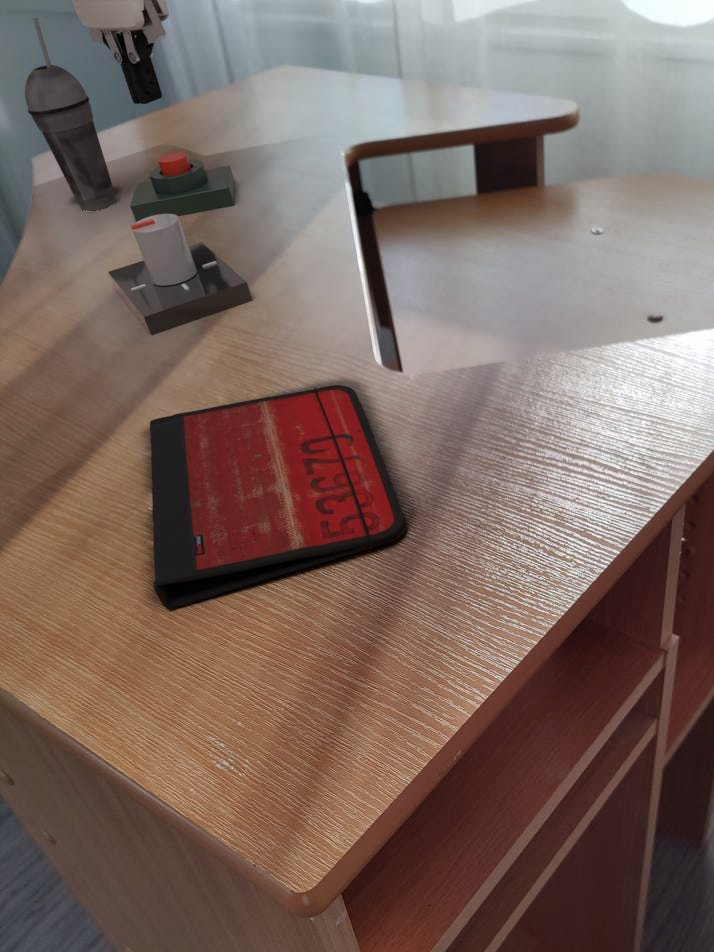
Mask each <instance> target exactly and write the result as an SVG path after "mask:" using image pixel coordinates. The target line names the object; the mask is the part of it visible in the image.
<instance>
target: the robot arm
mask: <svg viewBox="0 0 714 952" xmlns="http://www.w3.org/2000/svg"><path fill="white" fill-rule="evenodd" d="M71 3H72V6H73V8H74V11H75V13H76V15H77V18H78V20H79V22H80V23H81V24H82V26H84V27H85V28H87V29H88V33H89V37H90V38H91V40H93V41H95V42H97V43H100V44H103V45H105V46H106V47H107V48H108V49H109V50H110V52H111V54H112V57H113V60H114V61H115V62H116V63H117V64H120V67H121V70H122V72H123V73H122V74H123V76H124V79H125V82H126V86H127V88H128V91H129V94H130V98H131V100H132V103H133V104H135V105H140V104H141V105H147V104H150V103H152V102H154V101H157V100H160V99H162V97H163V92H162V90H161V86H160V83H159V79H158V78H157V77H158V76H157V74H156V70H155V67H154V64H153V60H152V58H154V56H155V55H154V54H155V52H154V45H155V42H158V41H160V40H162V39H164V38H166V37H167V36H166V35H167V33H166V30H165V28H164V26H163V22H165V21H166V20H168V18H169V15H170V11H169V8H168V7H169V5H168V3H167V0H71Z"/></svg>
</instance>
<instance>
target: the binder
mask: <svg viewBox="0 0 714 952" xmlns="http://www.w3.org/2000/svg"><path fill="white" fill-rule="evenodd" d="M366 415H367V414H366V413H365V410H364V407H363V405H362V403H361V401H360V399H359V396H358V394H357V392H356V391H355V389H353V388H352V387H350V386H348V385H341V384H334V385H326V386H322V387H317V388H316V387H314V388H313V389H307V390H302V391H297V392H290V393H285V394H279V395H273V396H267V397H265V396H264V397H261V398H255V399H250V400H245V401H244V400H243V401H238V402H234V403H228V404H224V405H217V406H212V407H207V408H203V409H196V410H192V411H186V412H185V411H184V412H179V413H174V414H172V415H168V416H162V417H158V418H155V419H152V420H150V422H149V434H150V458H151V459H150V461H151V462H150V463H151V500H152V523H153V536H152V537H153V567H154V570H153V571H154V581H153V591H154V592H155V594H156V596H157V598H158V600H159V601H160V603H161V604H162V606H163V607H164V608H166V609H167V610H174V609H177V608H179V607H185V606H186V605H190V604H193V603H196V602H198V601H202V600H205V599H208V598H211V597H214V596H217V595H220V594H223V593H226V592H229V591H234V590H236V589H240V588H243V587H246V586H250V585H252V584H253V585H254V584H256V583H259V582H260V583H261V582H263V581H266V580H270V579H273V578H275V577H279V576H283V575H286V574H290V573H292V572H296V571H299V570H303V569H306V568H309V567H312V566H315V565H319V564H322V563H323V564H324V563H326V562H330V561H333V560H336V559H339V558H343V557H346V556H349V555H354V554H358V553H361V552H364V551H367V550H373V548H376V547H380V546H384V545H386V544H389V543H393V542H394V541H396V540H397V539H399V538H400V537H402V535H403V534H405V532H406V530H407V528H408V527H407V526H408V524H407V520H406V517H405V514H404V512H403V509H402V507H401V504H400V501H399V499H398V497H397V494H396V493H397V492H396V490H395V488H394V485H393V483H392V480H391V476H390V474H389V472H388V469H387V466H386V464H385V462H384V459H383V456H382V453H381V451H380V448H379V446H378V443H377V441H376V437H375V435H374V432H373V429H372V428H371V425H370V423H369V421H368V420H369V419H368V418H367V416H366Z"/></svg>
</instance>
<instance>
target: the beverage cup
mask: <svg viewBox="0 0 714 952" xmlns="http://www.w3.org/2000/svg"><path fill="white" fill-rule="evenodd" d="M32 20H33V23H34V24H33V25H34V27H35V30H36V34H37V38H38V41H39V44H40V48H41V51H42V54H43V58H44V62H45V65H41V66H38V67H35V68H34V69H33V70H31V72H30V73H29V75H28V76H27V79H26V81H25V83H24V84H25V85H24V100H25V104H26V106H27V112H28V114H29V115H31V118H32V121H33V122H34V124H35V125H36V127H37V128H38V130H39V131H40V132H41V134H42V135H43V137H44V139H45V141H46V143H47V145H48V147H49V149H50V152H51V153H52V155H53V157H54V159H55V161H56V163H57V165H58V167H59V169H60V172H61V173H62V175H63V177H64V179H65V181H66V182H67V185H68V187H69V188H70V191H71V193H72V195H73V197H74V198H75V199H76V201H77V203H78V205H79V206H80V208H81V211H83V210H85V211H86V210H87V211H94V212H97V211H96V210H99V211H102V210H101V209H103V210H106V209H109V208H110V207H109V206H111V205H113V204H114V203H115V202H116V201H117V198H116V194H115V191H114V185H113V182H112V179H111V175H110V173H109V169H108V165H107V162H106V160H105V156H104V153H103V149H102V146H101V142H100V140H99V136H98V132H97V130H96V126H95V123H94V116H93V110H92V106H91V103H90V97H89V96H88V95H87V93H86V91H85V89H84V87H83V85H82V84H81V82H80V81H79V80H78V79H77V78H76V77H75V76H74V75H73V74H72V73H71V72H69V71H68V70H67V69H65V68H63V67H61V66H58V65H54V64H51V60H50V57H49V53H48V50H47V46H46V42H45V39H44V36H43V33H42V29H41V25H40V22H39V19H38V17H34V18H32ZM116 203H117V202H116ZM116 203H115V204H116ZM115 204H114V205H115ZM114 205H113V206H114ZM108 207H109V208H108ZM111 207H112V206H111ZM105 208H106V209H105ZM85 211H84V212H85Z"/></svg>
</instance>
